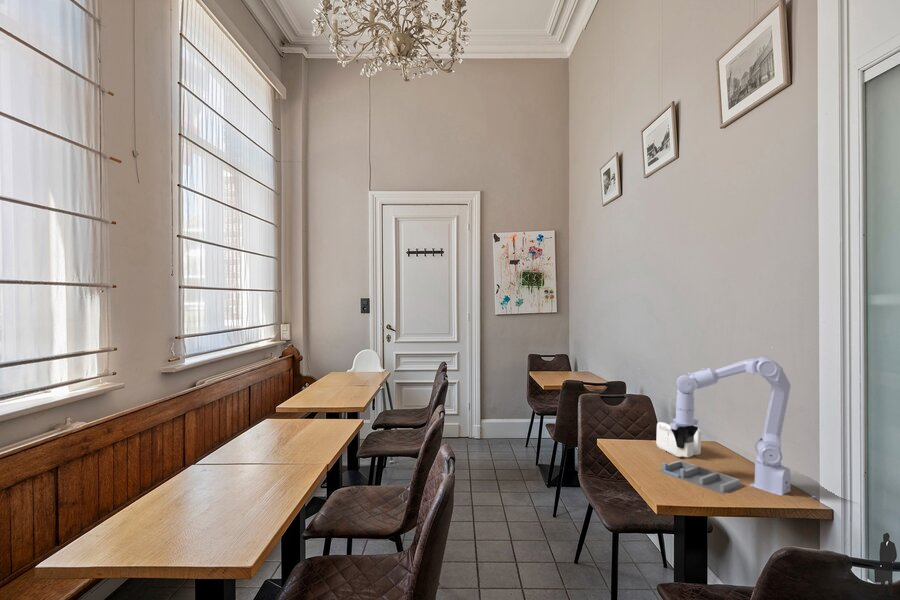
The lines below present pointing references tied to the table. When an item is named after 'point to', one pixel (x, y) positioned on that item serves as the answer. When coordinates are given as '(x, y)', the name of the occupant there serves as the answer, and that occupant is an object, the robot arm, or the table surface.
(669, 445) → the cable organizer
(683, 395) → the robot arm
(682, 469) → the parts fixture tray
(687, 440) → the white upright block
